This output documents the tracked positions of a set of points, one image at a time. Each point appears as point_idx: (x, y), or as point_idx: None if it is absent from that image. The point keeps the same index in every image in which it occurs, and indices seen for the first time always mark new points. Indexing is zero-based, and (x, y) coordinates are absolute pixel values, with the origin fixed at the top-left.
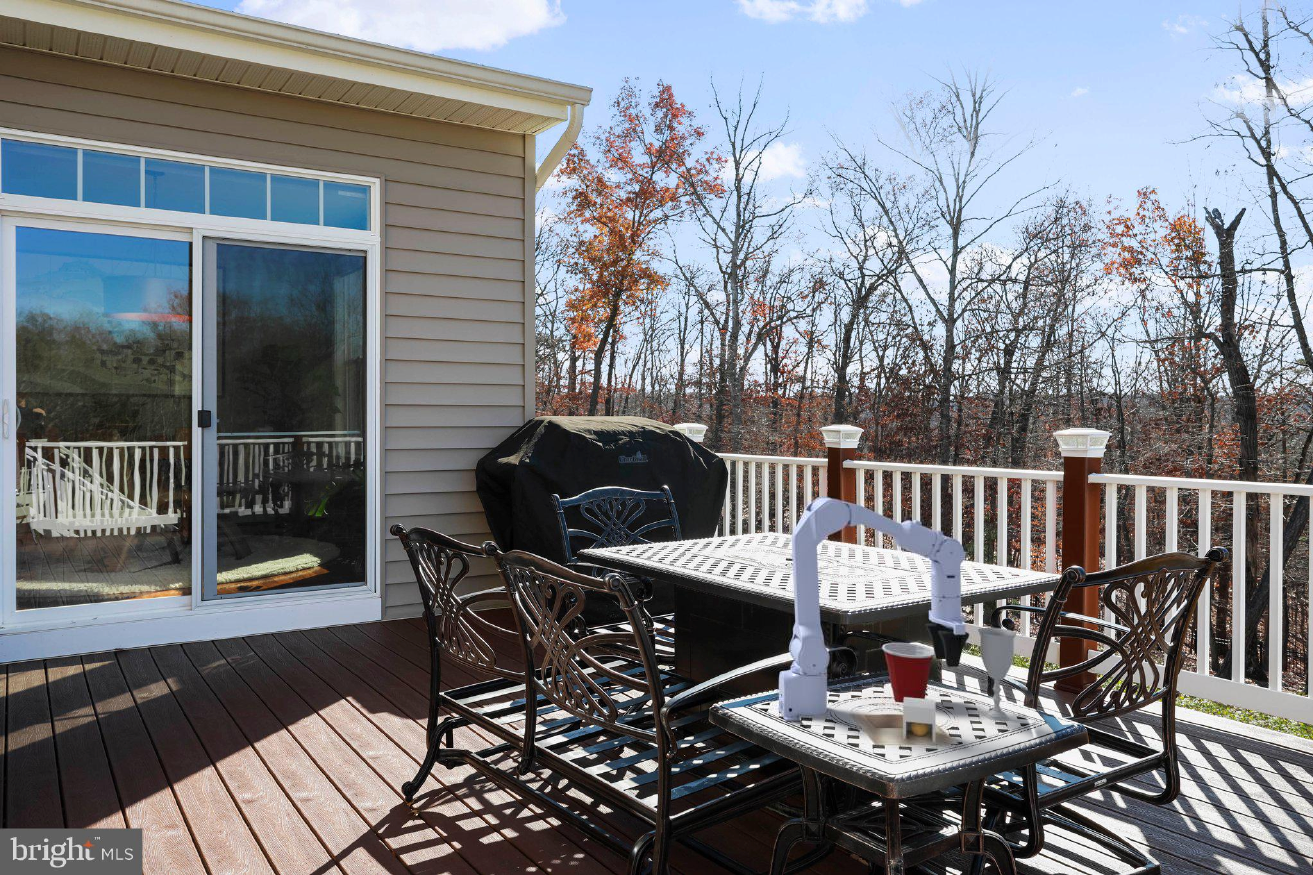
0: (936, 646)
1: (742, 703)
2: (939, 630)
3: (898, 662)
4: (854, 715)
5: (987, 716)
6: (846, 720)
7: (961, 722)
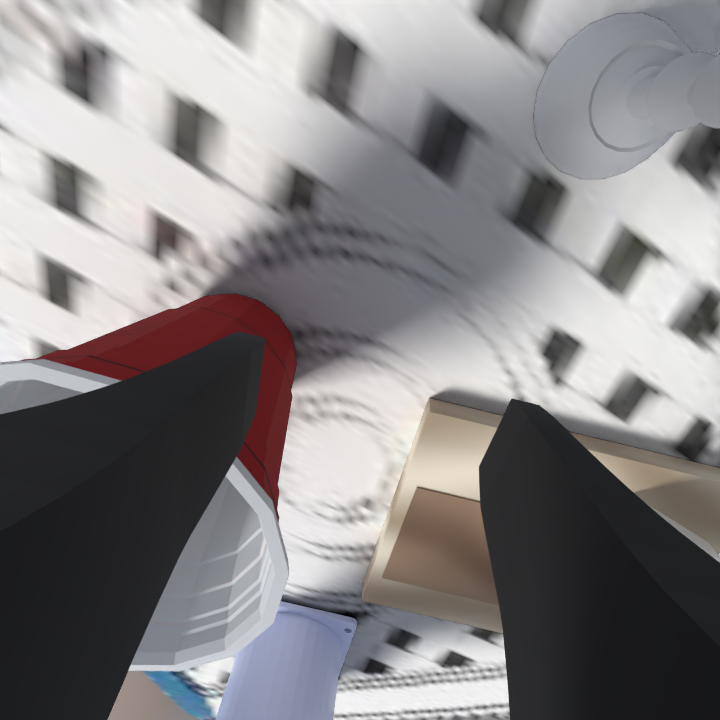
0: (203, 498)
1: (183, 692)
2: (79, 679)
3: (221, 584)
4: (375, 596)
5: (599, 161)
6: (359, 588)
7: (513, 276)
